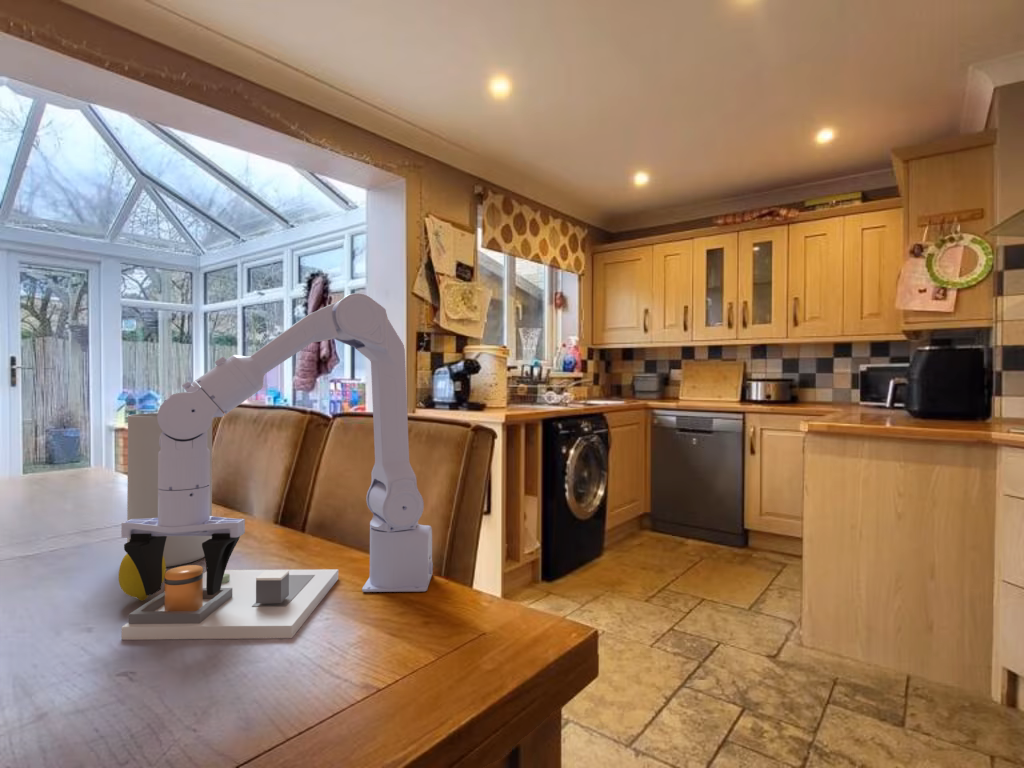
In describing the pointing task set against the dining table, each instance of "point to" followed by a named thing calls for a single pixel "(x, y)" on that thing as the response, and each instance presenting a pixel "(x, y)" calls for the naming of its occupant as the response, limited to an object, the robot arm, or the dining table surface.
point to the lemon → (134, 578)
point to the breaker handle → (272, 587)
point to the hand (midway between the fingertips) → (183, 592)
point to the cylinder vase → (156, 486)
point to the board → (234, 609)
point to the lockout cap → (184, 588)
